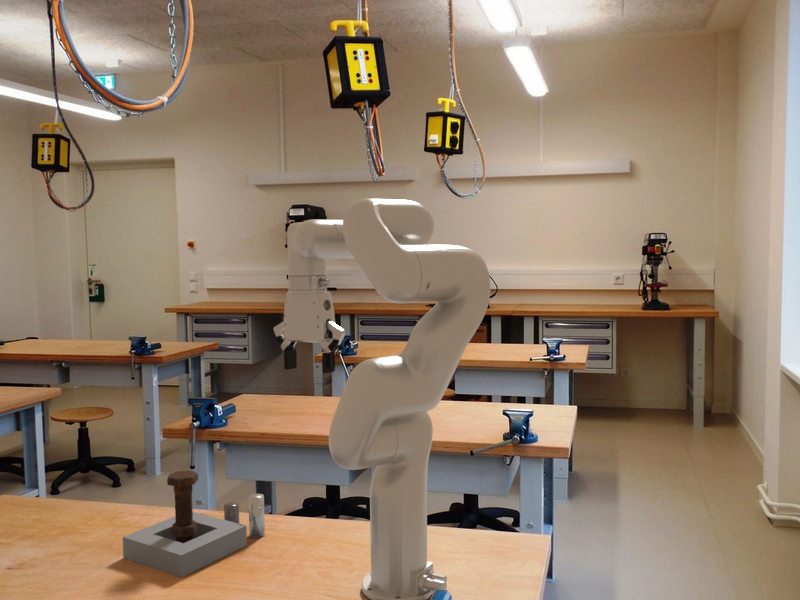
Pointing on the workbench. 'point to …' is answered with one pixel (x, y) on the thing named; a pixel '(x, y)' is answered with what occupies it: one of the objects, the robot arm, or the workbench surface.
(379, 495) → the robot arm
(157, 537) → the frame
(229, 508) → the pin short
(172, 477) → the bolt
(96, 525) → the workbench surface
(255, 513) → the pin mid
